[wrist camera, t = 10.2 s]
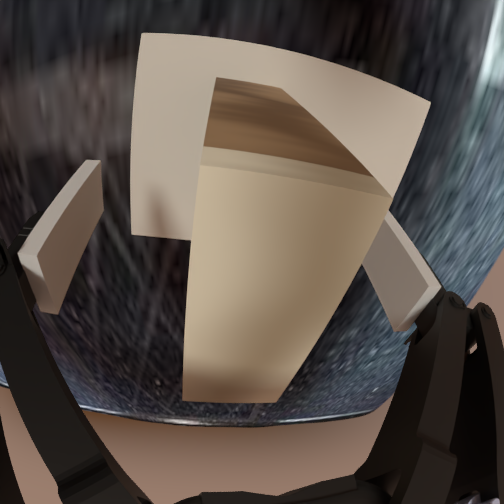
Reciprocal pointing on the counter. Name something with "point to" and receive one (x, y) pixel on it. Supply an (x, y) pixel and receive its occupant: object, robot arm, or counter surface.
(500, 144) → the counter surface
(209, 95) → the felt mat
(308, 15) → the counter surface
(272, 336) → the beige rectangular box
